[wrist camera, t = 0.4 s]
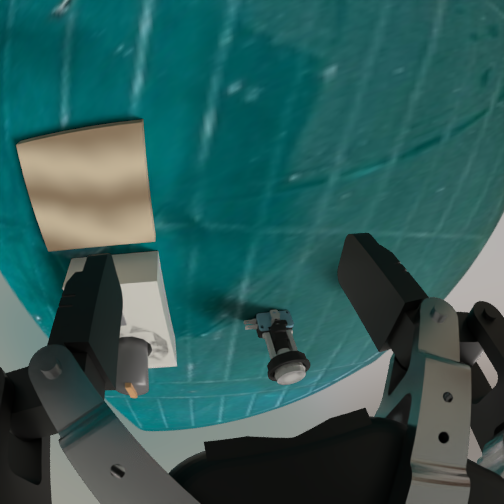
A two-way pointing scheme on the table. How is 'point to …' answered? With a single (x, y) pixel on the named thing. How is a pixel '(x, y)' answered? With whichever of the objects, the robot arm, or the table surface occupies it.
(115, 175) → the board
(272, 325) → the push button
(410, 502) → the robot arm
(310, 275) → the table surface
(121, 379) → the dark grey cylinder
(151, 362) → the light grey boxy piece
